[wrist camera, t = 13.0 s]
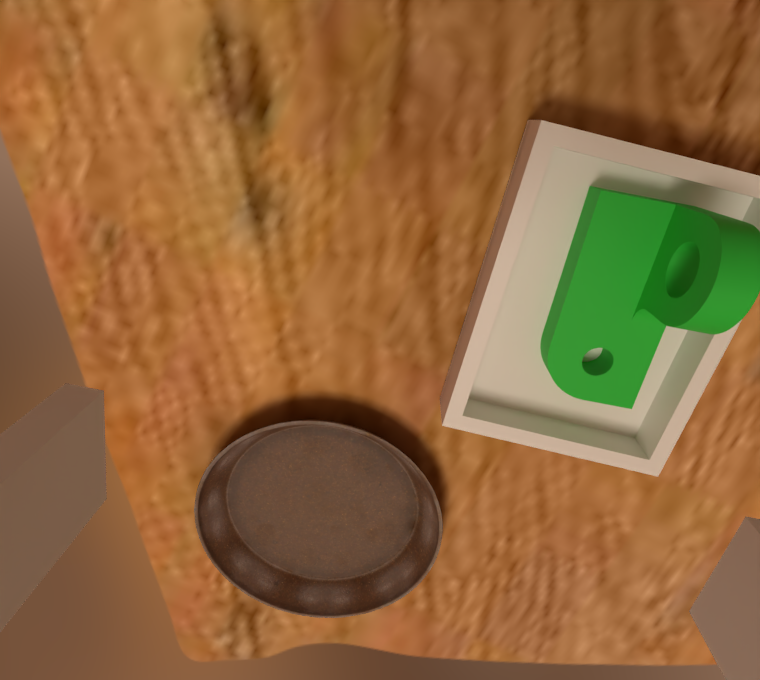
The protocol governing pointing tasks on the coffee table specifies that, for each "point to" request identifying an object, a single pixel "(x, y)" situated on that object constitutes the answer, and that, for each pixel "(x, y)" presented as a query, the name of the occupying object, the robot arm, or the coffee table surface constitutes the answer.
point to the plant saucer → (318, 518)
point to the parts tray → (537, 290)
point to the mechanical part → (643, 289)
